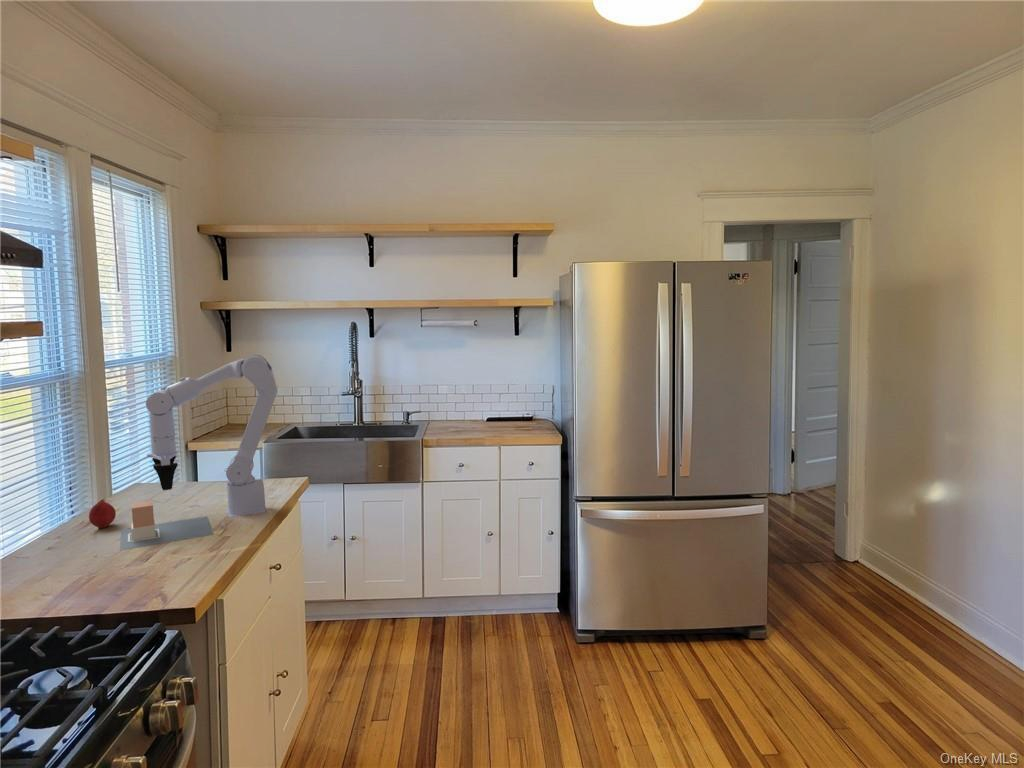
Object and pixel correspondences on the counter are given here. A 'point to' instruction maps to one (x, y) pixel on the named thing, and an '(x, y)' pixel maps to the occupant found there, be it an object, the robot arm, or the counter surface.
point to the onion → (102, 514)
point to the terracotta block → (142, 514)
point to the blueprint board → (164, 532)
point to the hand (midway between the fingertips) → (166, 486)
